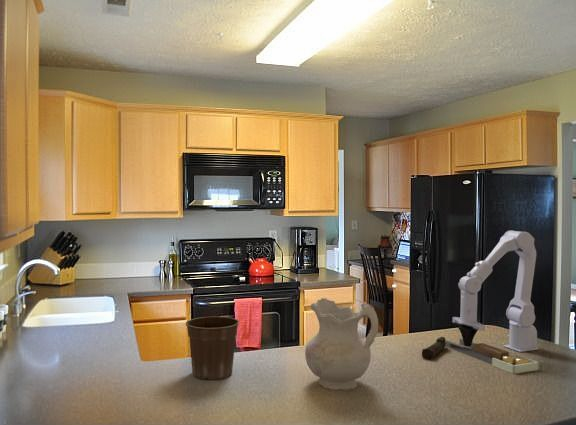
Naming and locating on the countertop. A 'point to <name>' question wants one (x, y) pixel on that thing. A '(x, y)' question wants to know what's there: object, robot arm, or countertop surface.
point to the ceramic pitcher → (340, 345)
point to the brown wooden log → (434, 349)
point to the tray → (515, 369)
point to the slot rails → (468, 350)
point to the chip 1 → (508, 359)
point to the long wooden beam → (490, 350)
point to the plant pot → (212, 346)
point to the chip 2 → (520, 360)
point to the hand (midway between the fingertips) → (467, 346)
